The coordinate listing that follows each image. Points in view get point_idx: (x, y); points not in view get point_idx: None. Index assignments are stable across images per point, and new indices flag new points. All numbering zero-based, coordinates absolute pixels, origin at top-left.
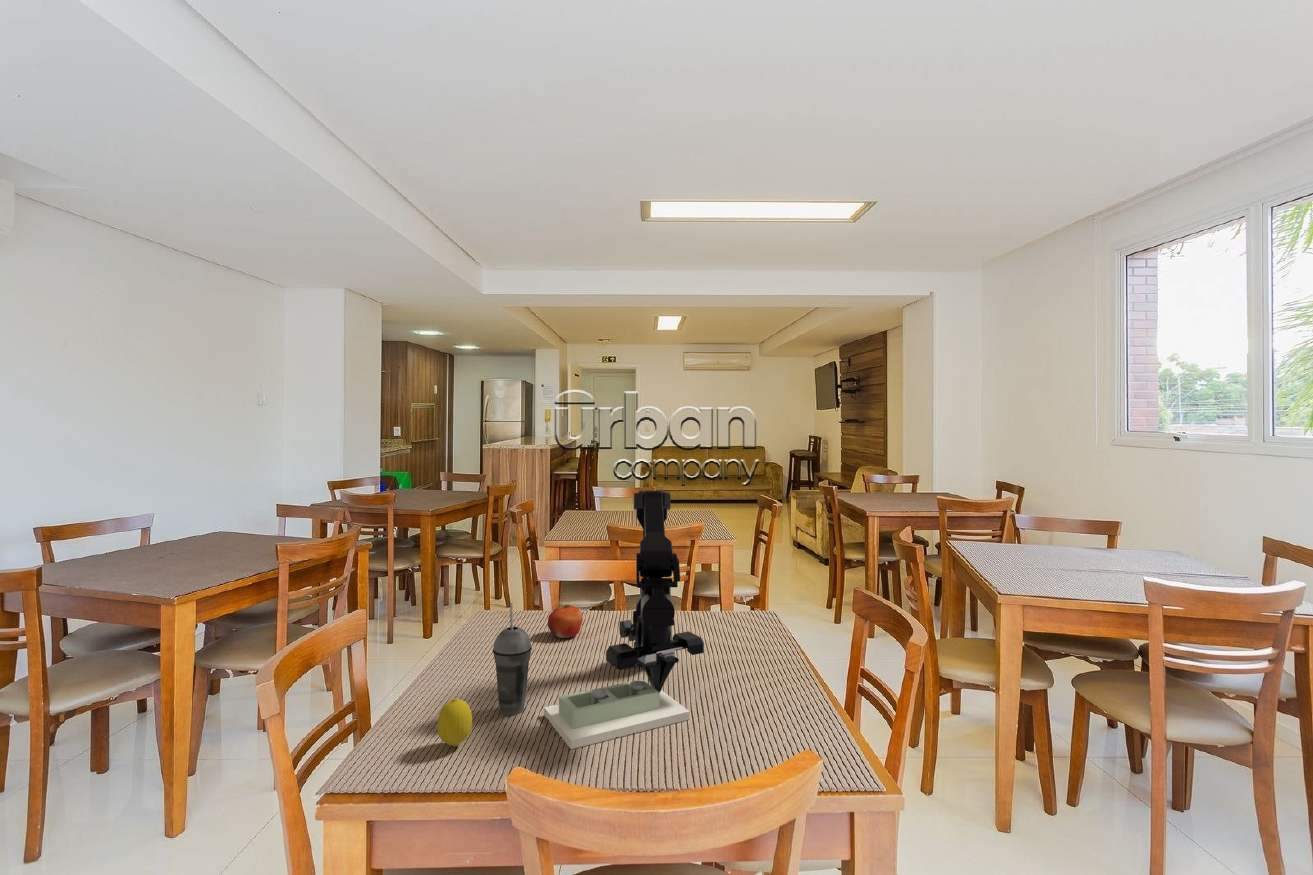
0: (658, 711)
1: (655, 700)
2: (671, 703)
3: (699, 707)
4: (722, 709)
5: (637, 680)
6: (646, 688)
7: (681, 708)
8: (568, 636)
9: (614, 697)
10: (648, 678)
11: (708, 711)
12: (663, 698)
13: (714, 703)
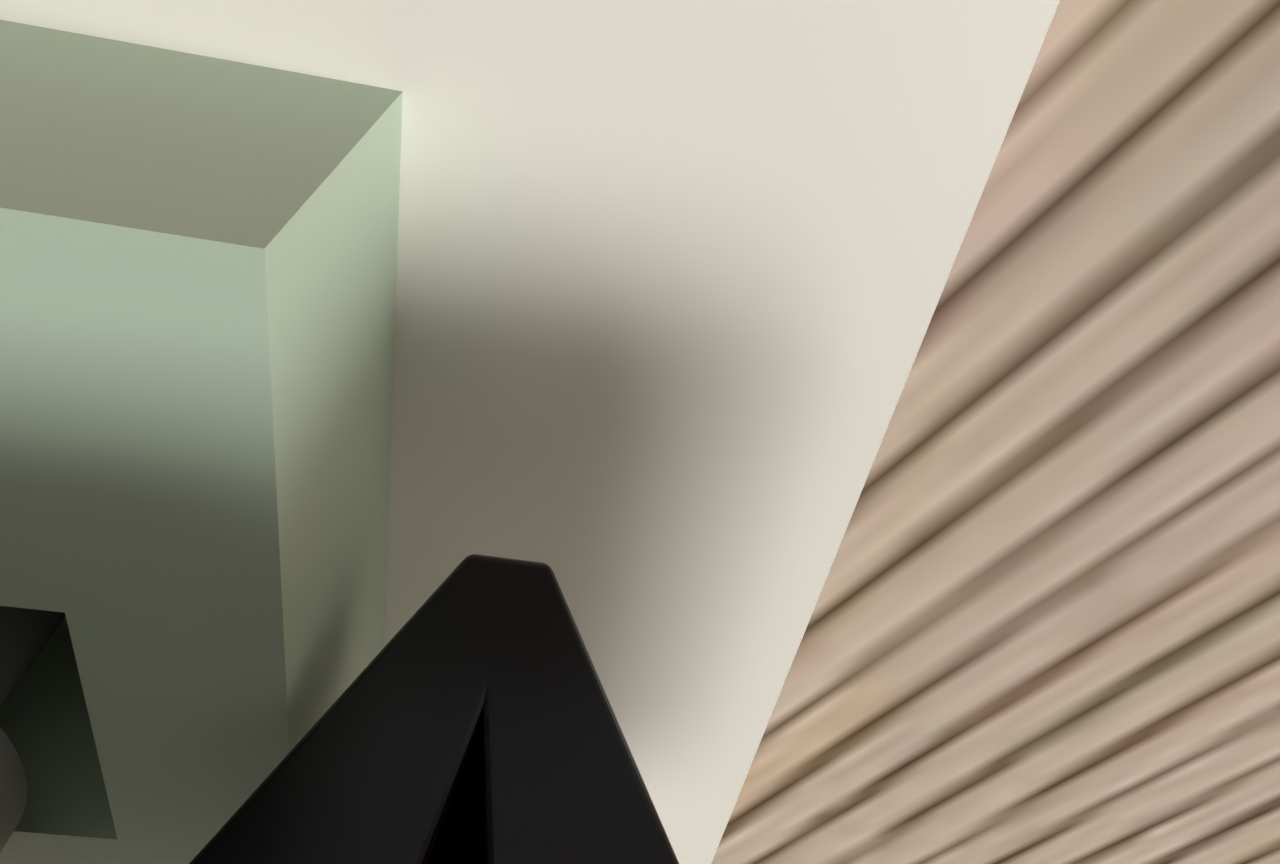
0: None
1: None
2: (662, 708)
3: (1041, 707)
4: (1164, 843)
5: (20, 247)
6: (115, 795)
7: None
8: None
9: None
10: (213, 856)
11: (1014, 806)
12: (691, 525)
13: (1273, 727)
